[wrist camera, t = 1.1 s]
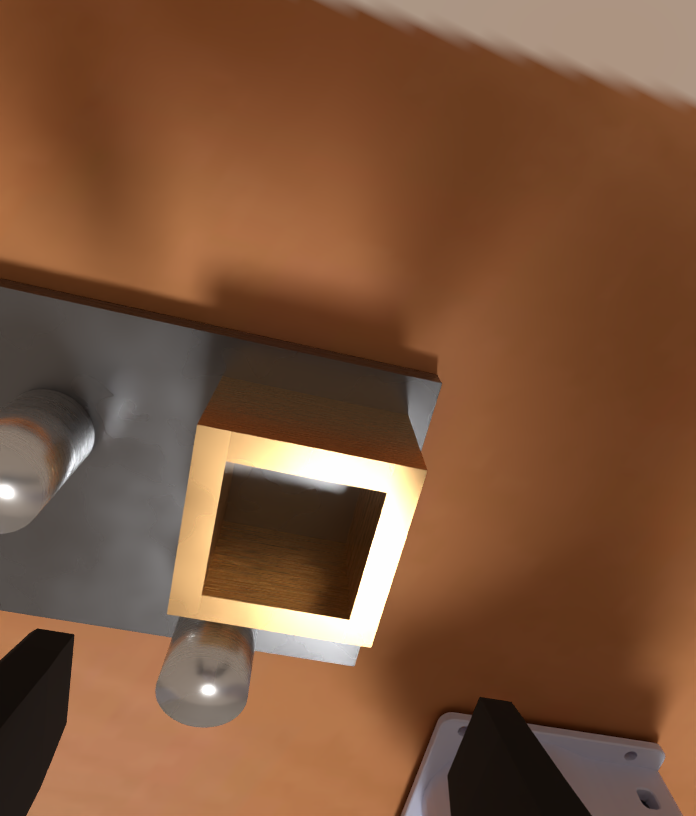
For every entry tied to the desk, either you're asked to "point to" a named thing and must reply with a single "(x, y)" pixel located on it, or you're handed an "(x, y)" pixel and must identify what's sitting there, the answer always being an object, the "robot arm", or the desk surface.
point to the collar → (285, 552)
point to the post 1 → (38, 452)
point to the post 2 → (206, 672)
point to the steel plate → (163, 454)
